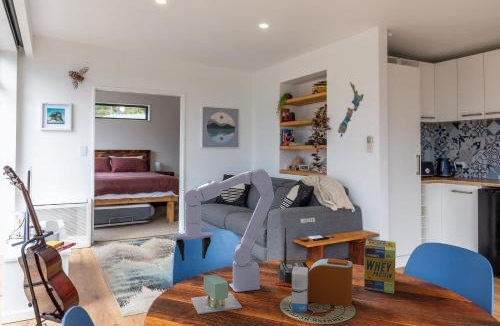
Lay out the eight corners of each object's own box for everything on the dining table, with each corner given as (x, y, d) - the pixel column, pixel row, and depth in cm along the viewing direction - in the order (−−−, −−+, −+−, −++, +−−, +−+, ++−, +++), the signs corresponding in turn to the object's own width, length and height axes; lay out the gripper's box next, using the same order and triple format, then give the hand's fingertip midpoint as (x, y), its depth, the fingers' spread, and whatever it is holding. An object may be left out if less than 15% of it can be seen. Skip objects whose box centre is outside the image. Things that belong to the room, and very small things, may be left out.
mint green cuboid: (216, 288, 125) (216, 274, 125) (228, 297, 118) (228, 282, 118) (203, 291, 123) (203, 276, 123) (214, 300, 115) (214, 284, 115)
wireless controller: (316, 282, 141) (317, 238, 141) (280, 282, 141) (280, 238, 140) (306, 266, 161) (307, 227, 161) (275, 266, 161) (275, 227, 160)
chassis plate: (230, 294, 128) (230, 292, 128) (241, 308, 117) (241, 306, 117) (190, 299, 124) (190, 297, 124) (198, 314, 112) (198, 312, 112)
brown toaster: (352, 298, 126) (353, 258, 126) (350, 307, 118) (351, 265, 118) (309, 292, 131) (309, 254, 131) (304, 301, 123) (305, 260, 123)
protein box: (363, 289, 134) (364, 247, 134) (367, 277, 148) (367, 238, 148) (394, 294, 130) (395, 250, 130) (395, 280, 144) (395, 241, 144)
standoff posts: (218, 296, 125) (218, 289, 125) (225, 305, 117) (225, 298, 117) (206, 298, 123) (206, 291, 123) (212, 307, 116) (212, 300, 116)
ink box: (307, 312, 114) (307, 275, 114) (291, 311, 115) (291, 273, 115) (308, 302, 122) (308, 266, 122) (293, 300, 123) (293, 265, 123)
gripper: (210, 219, 141) (210, 254, 141) (171, 221, 136) (171, 257, 136) (214, 222, 134) (214, 259, 134) (174, 224, 129) (174, 263, 129)
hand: (193, 259), depth 135 cm, fingers open, 7 cm apart
